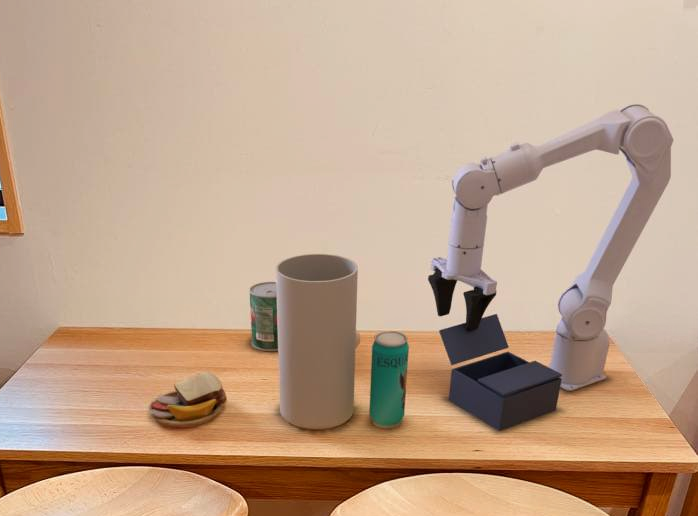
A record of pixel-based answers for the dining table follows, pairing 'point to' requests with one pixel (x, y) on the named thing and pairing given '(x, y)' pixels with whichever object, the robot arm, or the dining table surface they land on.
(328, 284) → the cylinder vase
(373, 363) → the beverage can
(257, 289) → the canned tomato
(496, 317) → the flap
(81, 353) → the dining table surface
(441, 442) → the dining table surface
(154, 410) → the toy sandwich meal
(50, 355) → the dining table surface
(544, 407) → the carton
